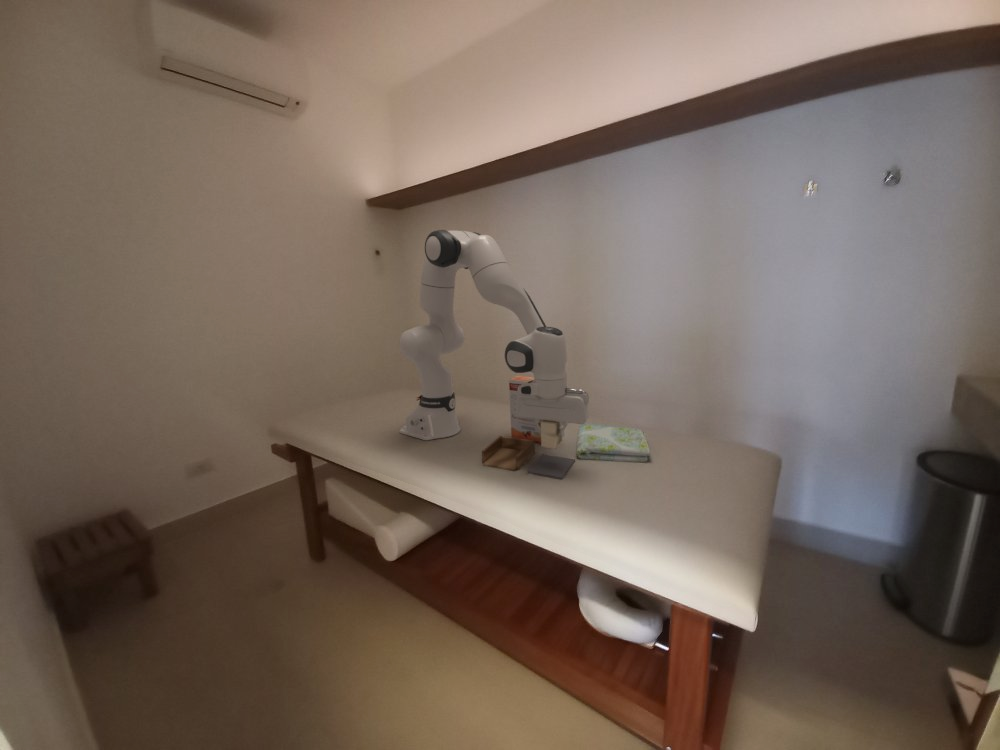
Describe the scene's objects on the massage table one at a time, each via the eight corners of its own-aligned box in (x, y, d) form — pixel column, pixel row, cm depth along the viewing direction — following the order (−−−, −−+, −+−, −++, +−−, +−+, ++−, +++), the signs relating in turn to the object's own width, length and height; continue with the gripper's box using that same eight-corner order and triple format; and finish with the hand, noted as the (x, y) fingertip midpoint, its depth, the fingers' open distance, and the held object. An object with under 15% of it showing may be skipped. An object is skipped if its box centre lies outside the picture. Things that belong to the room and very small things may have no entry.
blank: (548, 438, 115) (548, 415, 113) (561, 440, 113) (561, 417, 112) (541, 446, 110) (540, 422, 108) (555, 448, 108) (554, 424, 106)
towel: (652, 464, 113) (652, 447, 112) (575, 460, 118) (575, 444, 116) (644, 439, 130) (644, 425, 129) (578, 437, 135) (578, 422, 134)
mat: (527, 473, 110) (527, 471, 110) (542, 456, 121) (542, 454, 120) (562, 479, 106) (562, 477, 106) (574, 461, 116) (574, 459, 116)
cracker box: (510, 438, 136) (507, 378, 131) (519, 432, 141) (517, 374, 136) (547, 445, 128) (545, 382, 124) (555, 439, 133) (554, 378, 128)
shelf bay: (480, 464, 117) (479, 452, 116) (500, 447, 128) (500, 435, 128) (517, 471, 112) (516, 458, 111) (535, 452, 123) (534, 440, 122)
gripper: (591, 386, 106) (591, 435, 109) (521, 382, 115) (522, 427, 118) (585, 393, 101) (585, 444, 104) (512, 387, 110) (514, 434, 113)
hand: (551, 435), depth 111 cm, fingers closed on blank, 4 cm apart
